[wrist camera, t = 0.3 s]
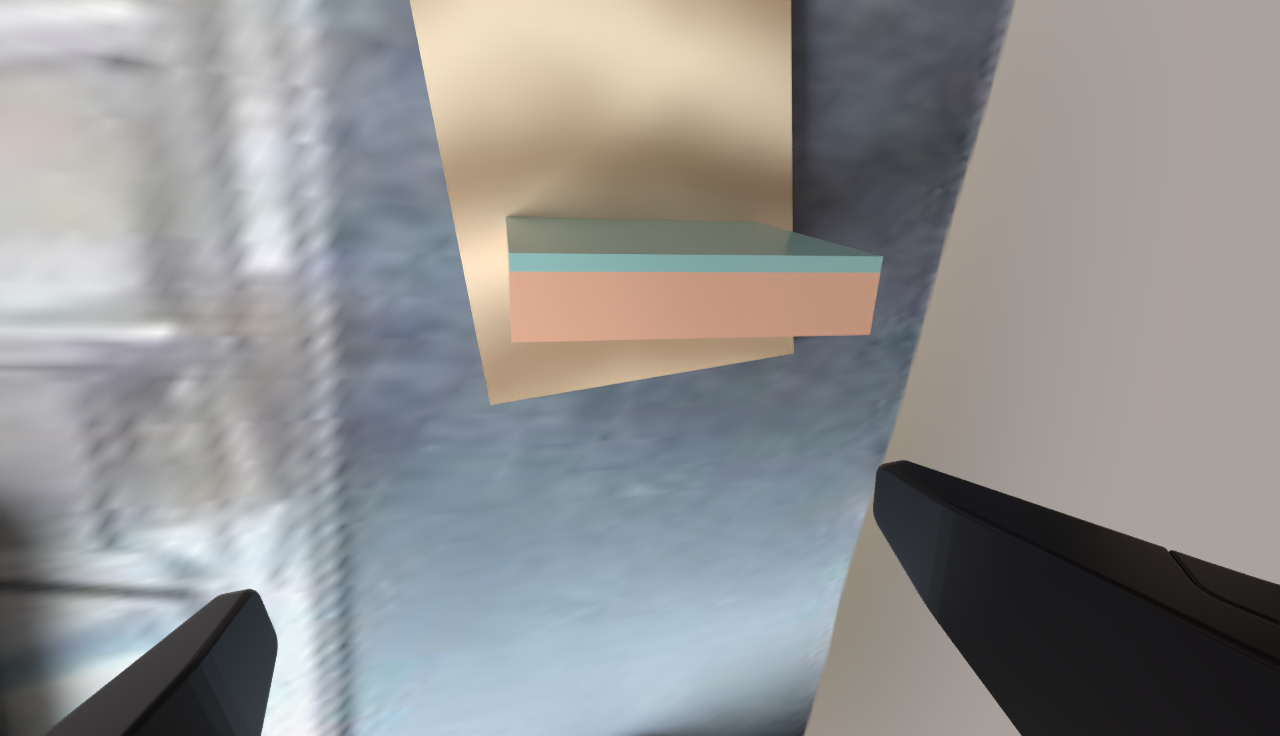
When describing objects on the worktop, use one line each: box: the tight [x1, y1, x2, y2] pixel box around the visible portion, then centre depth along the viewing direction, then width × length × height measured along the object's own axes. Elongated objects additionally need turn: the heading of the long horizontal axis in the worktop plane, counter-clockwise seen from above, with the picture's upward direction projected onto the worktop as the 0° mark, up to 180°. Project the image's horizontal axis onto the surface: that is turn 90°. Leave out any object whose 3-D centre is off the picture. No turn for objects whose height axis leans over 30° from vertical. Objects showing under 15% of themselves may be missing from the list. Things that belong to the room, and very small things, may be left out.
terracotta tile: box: [506, 217, 883, 342], centre depth 18 cm, size 2×9×8 cm, turn 88°
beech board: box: [410, 0, 794, 405], centre depth 22 cm, size 14×12×1 cm
